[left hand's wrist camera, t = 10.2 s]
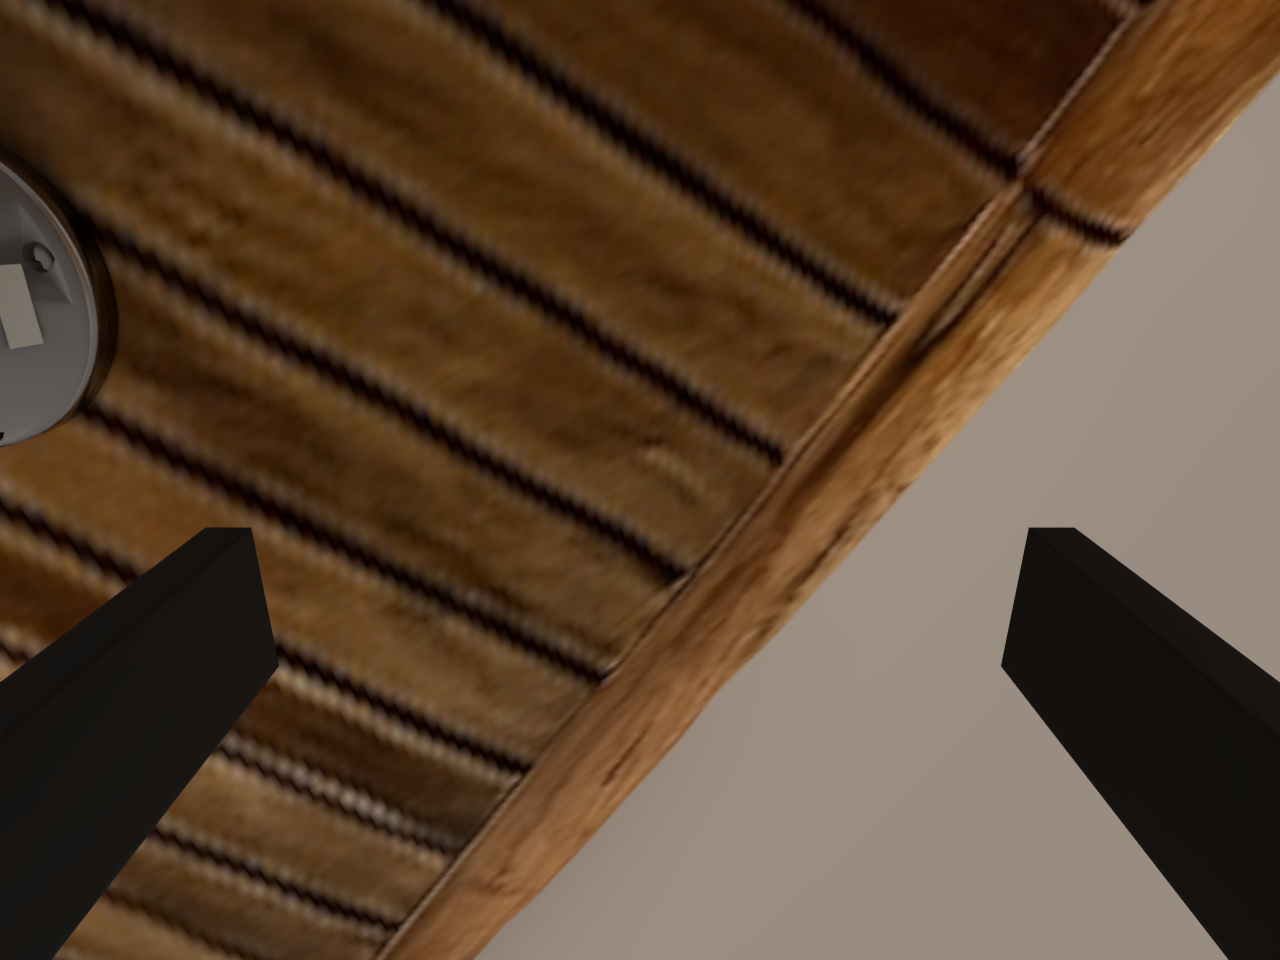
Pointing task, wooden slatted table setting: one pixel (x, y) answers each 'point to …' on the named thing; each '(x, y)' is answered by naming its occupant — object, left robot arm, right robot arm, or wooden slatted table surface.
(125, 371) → the wooden slatted table surface
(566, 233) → the wooden slatted table surface
